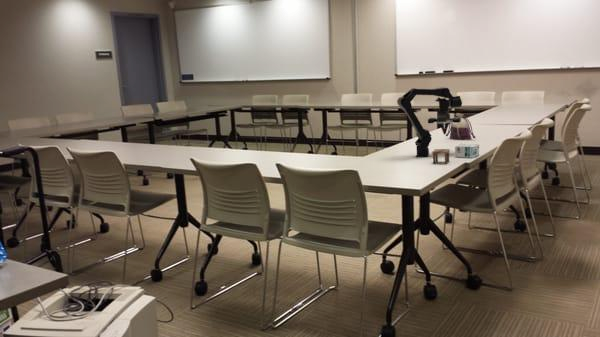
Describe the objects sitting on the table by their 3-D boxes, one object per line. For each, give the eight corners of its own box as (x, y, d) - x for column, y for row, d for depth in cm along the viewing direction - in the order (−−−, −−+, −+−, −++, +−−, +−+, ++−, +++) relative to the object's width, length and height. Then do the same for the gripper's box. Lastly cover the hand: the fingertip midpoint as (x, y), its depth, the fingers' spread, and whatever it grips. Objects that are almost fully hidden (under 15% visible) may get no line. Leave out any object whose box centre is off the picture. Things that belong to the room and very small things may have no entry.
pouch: (441, 139, 378) (441, 113, 374) (447, 137, 383) (447, 111, 380) (474, 141, 360) (473, 113, 356) (479, 139, 366) (479, 112, 362)
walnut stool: (432, 163, 292) (432, 151, 291) (435, 161, 299) (435, 149, 298) (447, 164, 288) (447, 151, 287) (449, 161, 296) (449, 149, 294)
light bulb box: (454, 157, 306) (473, 158, 299) (454, 145, 305) (473, 146, 298) (461, 154, 314) (479, 155, 308) (461, 143, 313) (479, 143, 306)
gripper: (425, 110, 312) (426, 136, 314) (457, 109, 303) (458, 136, 306) (429, 108, 321) (430, 133, 324) (460, 107, 313) (461, 133, 316)
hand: (444, 134), depth 318 cm, fingers closed
